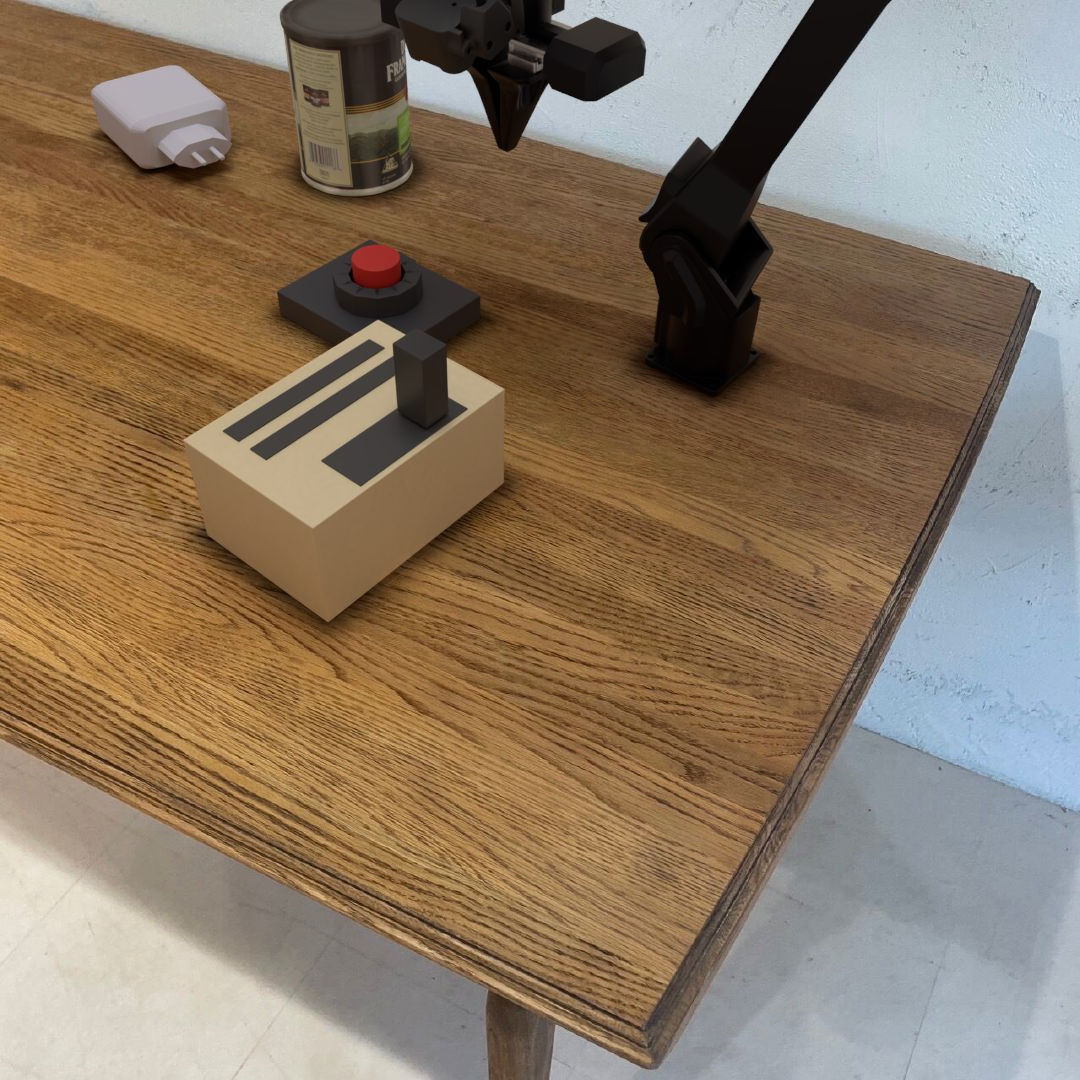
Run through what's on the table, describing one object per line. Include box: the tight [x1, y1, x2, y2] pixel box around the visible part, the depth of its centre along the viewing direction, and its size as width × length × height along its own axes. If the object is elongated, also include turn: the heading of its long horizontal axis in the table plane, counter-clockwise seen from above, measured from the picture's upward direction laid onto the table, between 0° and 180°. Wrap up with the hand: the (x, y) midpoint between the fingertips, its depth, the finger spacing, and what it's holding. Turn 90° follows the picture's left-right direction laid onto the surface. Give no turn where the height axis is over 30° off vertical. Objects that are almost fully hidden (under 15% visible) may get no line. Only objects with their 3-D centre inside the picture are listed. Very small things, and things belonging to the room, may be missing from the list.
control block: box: [276, 239, 482, 347], centre depth 87 cm, size 12×10×4 cm
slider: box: [392, 329, 449, 428], centre depth 66 cm, size 2×2×5 cm
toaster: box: [182, 320, 506, 623], centre depth 71 cm, size 11×16×8 cm
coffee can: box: [279, 0, 414, 197], centre depth 100 cm, size 10×10×14 cm
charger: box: [90, 64, 233, 170], centre depth 104 cm, size 5×9×15 cm
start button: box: [352, 244, 401, 289], centre depth 86 cm, size 4×4×2 cm
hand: (507, 148), depth 81 cm, fingers closed
